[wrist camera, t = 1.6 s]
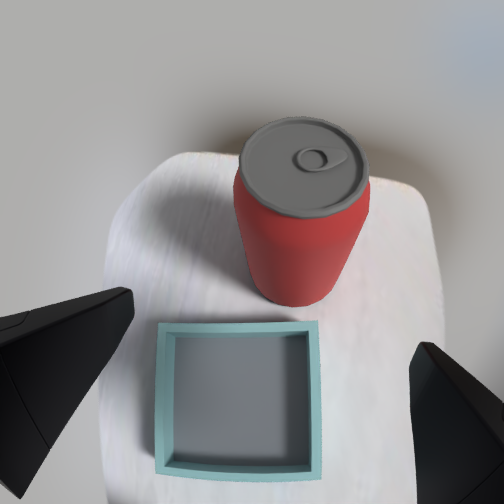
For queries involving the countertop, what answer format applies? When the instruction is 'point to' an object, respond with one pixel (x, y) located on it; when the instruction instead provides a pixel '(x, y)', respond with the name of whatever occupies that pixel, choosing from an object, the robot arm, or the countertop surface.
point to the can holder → (238, 401)
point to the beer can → (300, 206)
